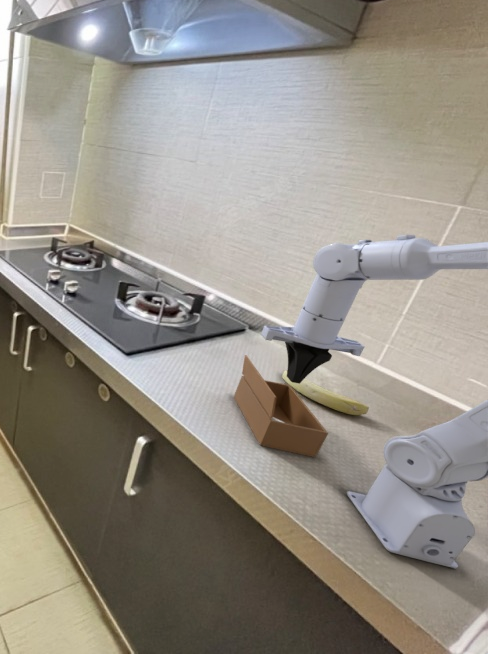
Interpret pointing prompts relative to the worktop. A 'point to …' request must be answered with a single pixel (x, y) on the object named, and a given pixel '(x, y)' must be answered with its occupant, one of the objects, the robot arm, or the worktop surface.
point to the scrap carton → (298, 426)
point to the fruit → (327, 397)
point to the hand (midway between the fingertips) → (293, 379)
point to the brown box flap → (259, 386)
